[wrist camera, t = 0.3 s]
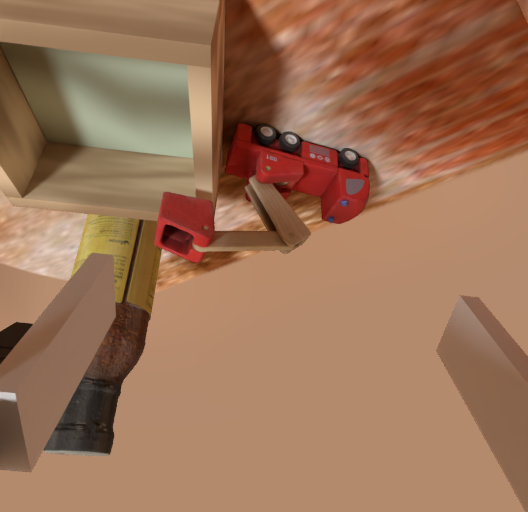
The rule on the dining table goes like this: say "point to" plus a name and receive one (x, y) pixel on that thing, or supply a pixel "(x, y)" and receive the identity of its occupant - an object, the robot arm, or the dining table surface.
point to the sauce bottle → (111, 332)
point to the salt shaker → (524, 8)
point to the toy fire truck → (267, 195)
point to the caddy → (110, 103)
